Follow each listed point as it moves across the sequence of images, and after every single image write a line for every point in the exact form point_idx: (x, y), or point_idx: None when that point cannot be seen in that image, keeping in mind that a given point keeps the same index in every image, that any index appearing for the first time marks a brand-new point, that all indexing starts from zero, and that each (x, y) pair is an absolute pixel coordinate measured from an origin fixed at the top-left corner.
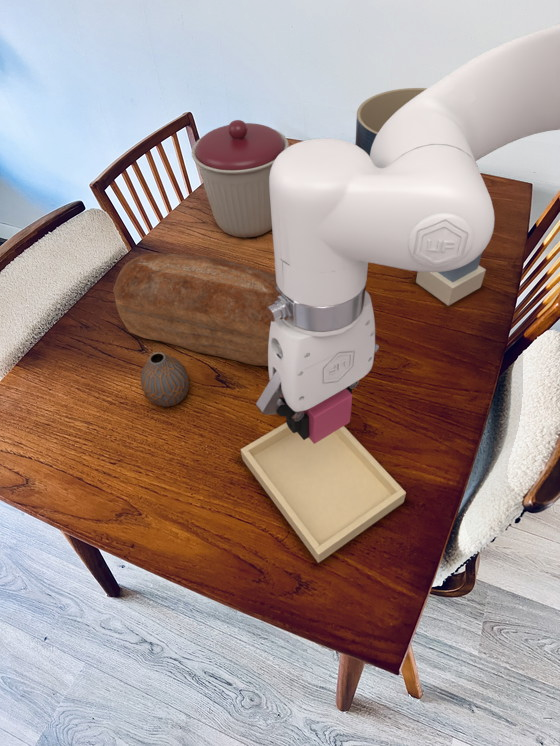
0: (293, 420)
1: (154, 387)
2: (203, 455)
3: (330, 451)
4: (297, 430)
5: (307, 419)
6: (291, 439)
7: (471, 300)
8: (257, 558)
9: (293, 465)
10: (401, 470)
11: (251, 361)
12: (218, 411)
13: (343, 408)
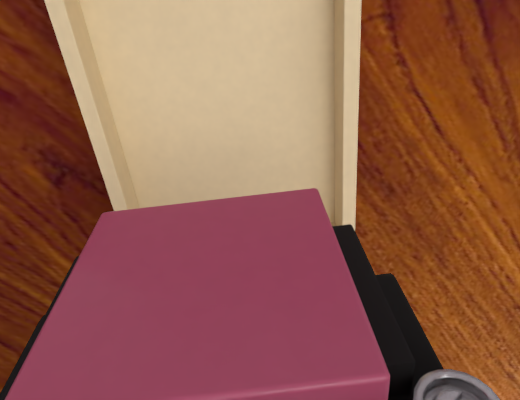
0: (436, 363)
1: None
2: (400, 261)
3: (169, 160)
4: (382, 283)
5: (381, 349)
6: None
7: None
8: (456, 3)
9: (263, 168)
10: (14, 30)
11: None
12: None
13: (112, 321)
